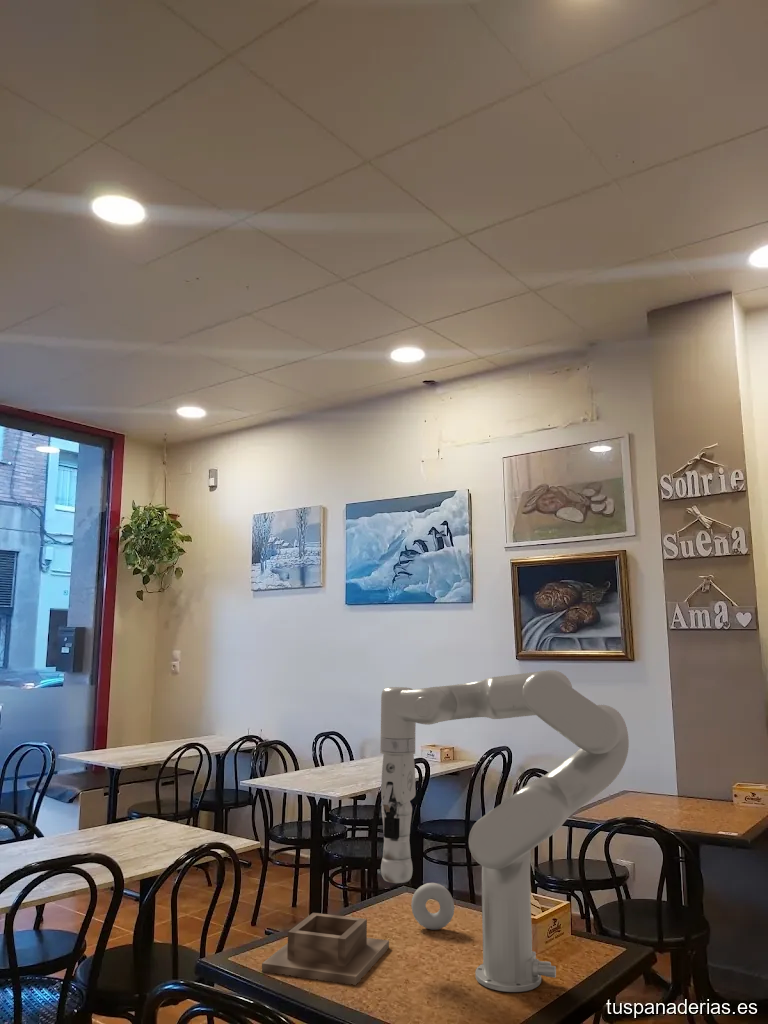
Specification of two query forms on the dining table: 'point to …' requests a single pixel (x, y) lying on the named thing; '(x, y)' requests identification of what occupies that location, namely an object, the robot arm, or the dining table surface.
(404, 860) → the plastic bottle
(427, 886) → the donut
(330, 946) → the bottle stand
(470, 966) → the dining table surface
